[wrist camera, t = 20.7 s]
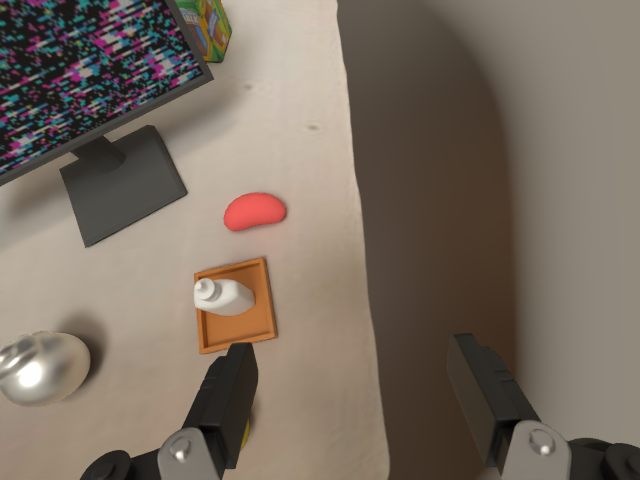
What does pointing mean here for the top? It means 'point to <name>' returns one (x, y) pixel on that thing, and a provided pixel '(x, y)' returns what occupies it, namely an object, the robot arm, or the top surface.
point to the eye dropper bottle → (223, 297)
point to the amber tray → (244, 326)
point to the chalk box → (207, 26)
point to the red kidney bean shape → (253, 211)
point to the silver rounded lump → (42, 368)
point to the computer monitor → (95, 100)
